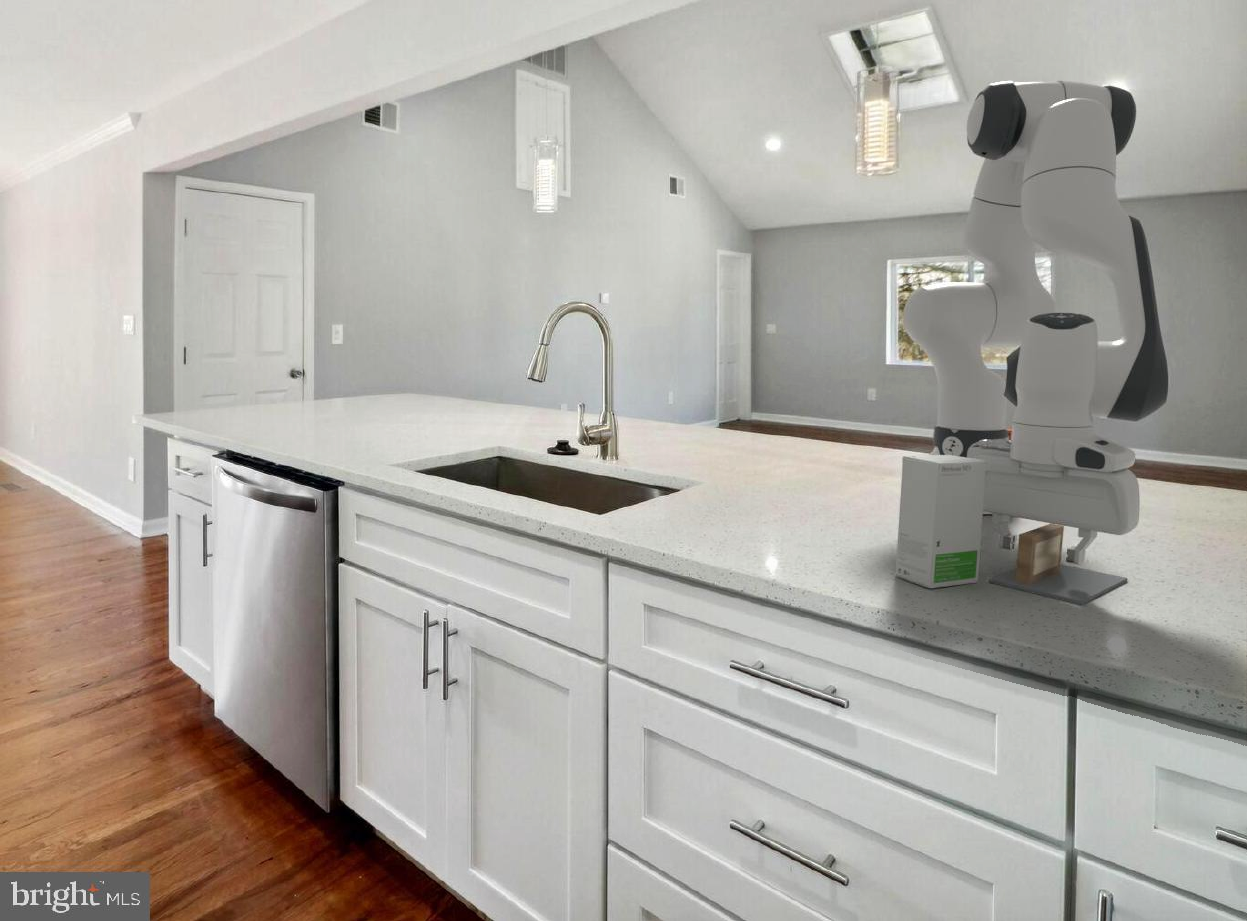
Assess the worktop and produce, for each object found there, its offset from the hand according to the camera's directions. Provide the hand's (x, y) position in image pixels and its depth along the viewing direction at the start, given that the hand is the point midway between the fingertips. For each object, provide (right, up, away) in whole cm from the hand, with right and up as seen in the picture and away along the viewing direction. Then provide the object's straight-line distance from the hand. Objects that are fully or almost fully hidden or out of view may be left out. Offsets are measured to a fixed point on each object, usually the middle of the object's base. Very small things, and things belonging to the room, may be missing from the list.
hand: (1040, 555), depth 104 cm
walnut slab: (0, -3, 0) cm, 3 cm away
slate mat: (+2, -3, 0) cm, 4 cm away
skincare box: (-13, -3, +1) cm, 13 cm away
